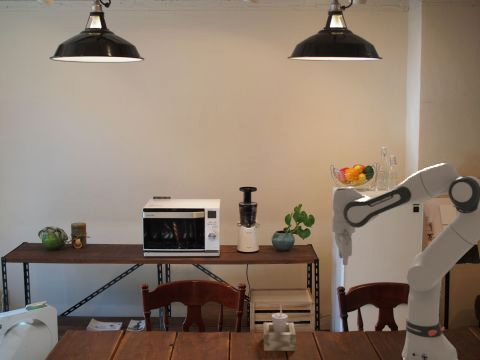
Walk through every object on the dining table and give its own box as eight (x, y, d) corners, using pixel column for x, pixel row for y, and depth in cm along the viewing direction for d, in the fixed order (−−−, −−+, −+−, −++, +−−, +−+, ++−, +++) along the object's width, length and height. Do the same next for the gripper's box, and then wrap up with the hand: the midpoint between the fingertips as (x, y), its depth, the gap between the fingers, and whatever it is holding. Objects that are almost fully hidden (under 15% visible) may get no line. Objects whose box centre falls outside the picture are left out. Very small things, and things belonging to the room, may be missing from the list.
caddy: (293, 337, 252) (293, 322, 251) (295, 350, 240) (295, 334, 239) (263, 338, 252) (263, 322, 251) (264, 350, 240) (264, 334, 239)
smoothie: (286, 342, 244) (286, 308, 242) (270, 341, 245) (270, 307, 243) (288, 336, 250) (288, 302, 248) (272, 335, 251) (272, 301, 249)
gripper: (356, 233, 237) (355, 268, 239) (347, 221, 257) (347, 254, 259) (339, 233, 237) (338, 268, 239) (332, 221, 257) (331, 254, 259)
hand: (343, 261), depth 249 cm, fingers open, 8 cm apart
